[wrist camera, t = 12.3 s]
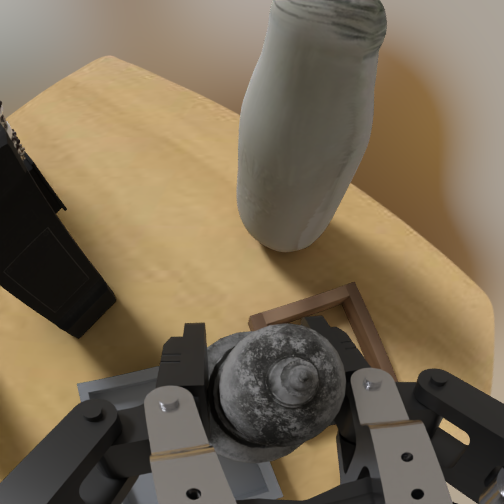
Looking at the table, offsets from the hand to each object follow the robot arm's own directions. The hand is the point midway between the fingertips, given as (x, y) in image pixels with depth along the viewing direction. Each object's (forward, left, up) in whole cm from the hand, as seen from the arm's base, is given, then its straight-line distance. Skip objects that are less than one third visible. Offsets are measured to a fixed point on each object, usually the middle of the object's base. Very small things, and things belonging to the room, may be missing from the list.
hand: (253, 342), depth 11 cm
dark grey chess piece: (0, -2, -6) cm, 6 cm away
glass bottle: (+10, +15, -20) cm, 27 cm away
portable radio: (-13, +13, -20) cm, 27 cm away
